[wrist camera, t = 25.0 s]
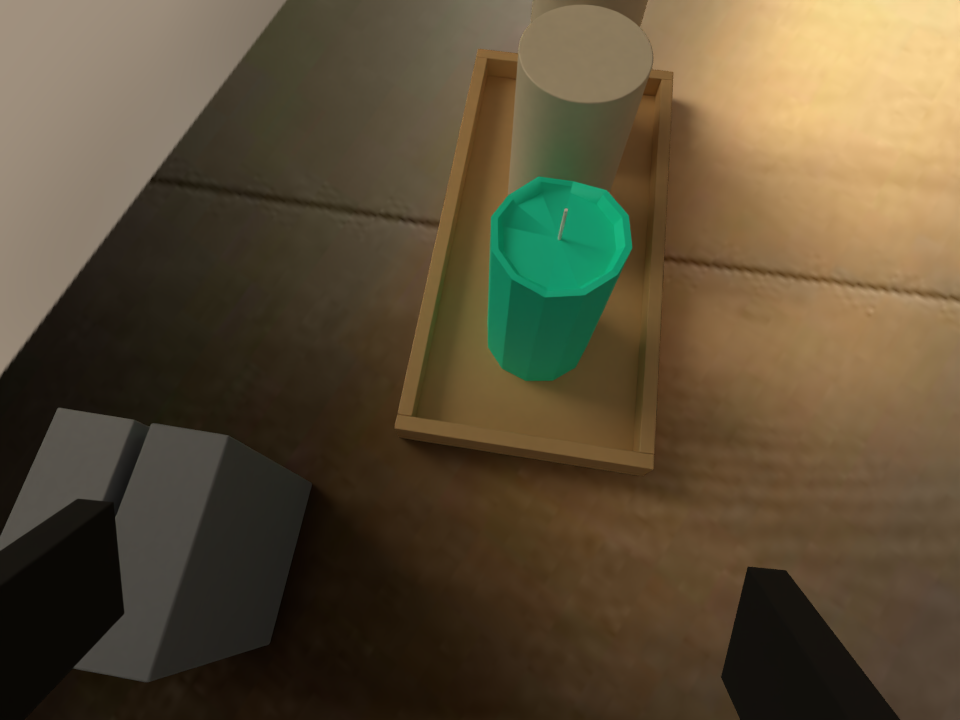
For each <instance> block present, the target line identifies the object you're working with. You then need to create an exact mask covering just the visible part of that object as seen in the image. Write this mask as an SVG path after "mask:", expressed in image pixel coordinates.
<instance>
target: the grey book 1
mask: <svg viewBox="0 0 960 720" xmlns="http://www.w3.org/2000/svg"><path fill="white" fill-rule="evenodd" d="M149 428H150V427H149V426H146V425H144V424H142V423H140V422H138V421H136V420H132V419H126V418H120V417H114V416H107V415H101V414H95V413H89V412H83V411H77V410H70V409H64V408H58V409H57V411H56V413H55V416H54V418H53V420H52V422H51V424H50V427H49V429H48V431H47V433H46V436H45V438H44V440H43V442H42V445H41V447H40V449H39V451H38V454H37V456H36V458H35V460H34V462H33V465H32V467H31V469H30V471H29V474H28V476H27V478H26V480H25V483H24V485H23V487H22V489H21V491H20V494H19V496H18V498H17V500H16V503H15V505H14V507H13V509H12V512H11V514H10V516H9V518H8V521H7V523H6V525H5V527H4V529H3V532H2V534H1V536H0V551H1V550H2V549H4V548H5V547H7V546H8V545H9V544H11V543H12V542H14V541H15V540H17V539H18V538H20V537H21V536H23V535H24V534H26V533H27V532H29V531H30V530H32V529H33V528H35V527H36V526H38V525H39V524H41V523H42V522H44V521H45V520H47V519H48V518H49V517H51V516H52V515H54V514H55V513H57V512H58V511H60V510H61V509H63V508H64V507H66V506H67V505H69V504H70V503H72V502H73V501H75V500H76V499H88V500H98V501H107V502H114V511H115V517H116V515H117V512H118V510H119V507H120V504H121V502H122V499H123V496H124V494H125V491H126V489H127V486H128V483H129V481H130V478H131V475H132V473H133V470H134V468H135V465H136V462H137V460H138V457H139V454H140V452H141V449H142V447H143V444H144V441H145V439H146V436H147V434H148V431H149Z"/></svg>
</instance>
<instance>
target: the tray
mask: <svg viewBox="0 0 960 720" xmlns="http://www.w3.org/2000/svg"><path fill="white" fill-rule="evenodd" d="M517 63H518V53H509V52H501V51H492V50H484V49H478V52H477V56H476V61H475V65H474V70H473V74H472V79H471V83H470V88H469V92H468V97H467V101H466V106H465V110H464V115H463V119H462V124H461V128H460V133H459V137H458V142H457V146H456V151H455V156H454V160H453V165H452V169H451V174H450V178H449V183H448V187H447V192H446V196H445V201H444V205H443V210H442V214H441V219H440V223H439V228H438V232H437V237H436V241H435V246H434V250H433V255H432V259H431V264H430V269H429V273H428V278H427V282H426V287H425V291H424V296H423V300H422V305H421V309H420V314H419V318H418V323H417V327H416V332H415V336H414V341H413V345H412V350H411V354H410V359H409V363H408V368H407V373H406V377H405V382H404V386H403V391H402V395H401V400H400V404H399V409H398V415H397V418H396V422H395V427H394V428H395V430H396V432H397V434H398V436H399V437H400V438H405V439H411V440H417V441H424V442H430V443H436V444H443V445H449V446H455V447H461V448H468V449H474V450H480V451H486V452H493V453H499V454H505V455H511V456H518V457H524V458H530V459H537V460H543V461H549V462H555V463H562V464H568V465H574V466H580V467H587V468H593V469H599V470H605V471H612V472H618V473H624V474H630V475H637V476H644V475H645V474H647V473H649V472H650V471H652V470H653V469H654V453H655V433H656V413H657V393H658V372H659V352H660V332H661V312H662V292H663V272H664V252H665V231H666V211H667V191H668V171H669V151H670V131H671V111H672V90H673V72H669V71H661V70H652V69H651V72H650V75H649V78H648V81H647V84H646V87H645V90H644V93H643V96H642V99H641V102H640V105H639V108H638V111H637V114H636V116H635V119H634V122H633V125H632V128H631V131H630V134H629V137H628V140H627V143H626V146H625V149H624V152H623V155H622V158H621V161H620V164H619V167H618V170H617V173H616V176H615V179H614V182H613V185H612V188H611V191H610V194H611V196H612V197H613V198H614V199H615V200H616V201H617V202H618V204H619V205H620V206H621V207H622V208H623V209H624V210H625V212H626V213H627V214H628V215H629V222H630V231H631V239H632V250H631V252H630V254H629V256H628V259H627V261H626V263H625V265H624V267H623V269H622V271H621V274H620V276H619V278H618V280H617V282H616V284H615V287H614V289H613V291H612V293H611V295H610V297H609V300H608V302H607V304H606V306H605V308H604V310H603V313H602V315H601V317H600V319H599V321H598V323H597V326H596V328H595V330H594V332H593V334H592V336H591V339H590V341H589V343H588V345H587V347H586V349H585V351H584V353H583V355H582V356H581V358H580V360H579V362H578V364H577V366H576V368H574V369H572V370H571V371H569V372H567V373H565V374H564V375H562V376H560V377H558V378H557V379H555V380H553V381H525V380H523V379H521V378H519V377H517V376H515V375H513V374H511V373H510V372H508V371H506V370H504V369H502V368H501V366H500V365H499V363H498V362H497V360H496V359H495V357H494V356H493V354H492V353H491V351H490V349H489V348H488V327H487V321H488V290H489V260H490V230H491V216H492V215H493V214H494V212H495V211H496V210H497V209H498V207H499V206H500V205H501V204H502V202H503V201H504V200H505V198H506V197H507V196H508V185H509V171H510V158H511V144H512V130H513V117H514V103H515V90H516V76H517Z"/></svg>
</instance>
